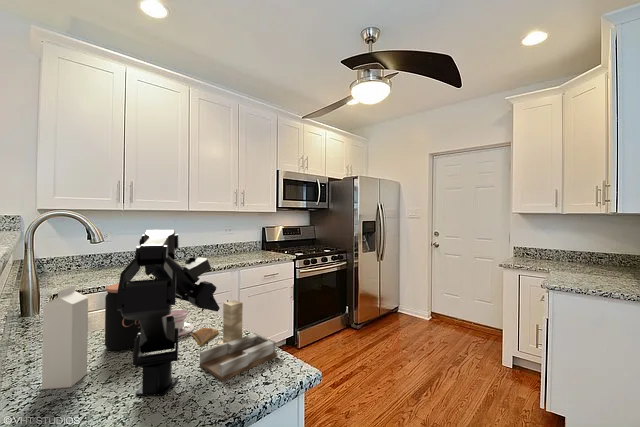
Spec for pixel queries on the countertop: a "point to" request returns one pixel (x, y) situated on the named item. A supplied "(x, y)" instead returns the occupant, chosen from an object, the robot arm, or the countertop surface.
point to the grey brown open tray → (237, 356)
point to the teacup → (181, 320)
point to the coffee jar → (118, 324)
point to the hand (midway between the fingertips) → (209, 306)
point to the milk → (65, 339)
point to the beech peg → (232, 321)
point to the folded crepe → (204, 335)
